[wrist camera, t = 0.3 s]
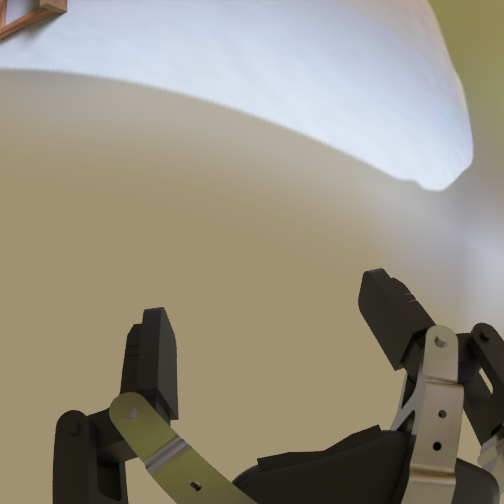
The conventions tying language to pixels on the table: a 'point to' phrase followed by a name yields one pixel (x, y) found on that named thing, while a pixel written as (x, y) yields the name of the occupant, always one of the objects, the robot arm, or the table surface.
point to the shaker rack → (30, 15)
